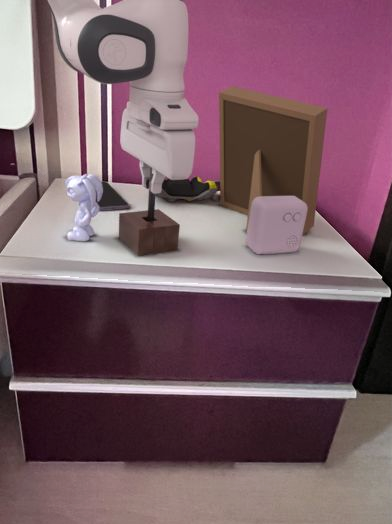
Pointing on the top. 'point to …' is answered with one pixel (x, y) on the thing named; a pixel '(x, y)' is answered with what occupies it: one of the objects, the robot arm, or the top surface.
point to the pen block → (148, 232)
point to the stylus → (151, 201)
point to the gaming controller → (187, 189)
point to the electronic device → (276, 224)
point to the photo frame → (269, 149)
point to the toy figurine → (84, 203)
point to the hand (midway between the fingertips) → (151, 190)
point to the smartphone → (110, 199)
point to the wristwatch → (217, 197)
